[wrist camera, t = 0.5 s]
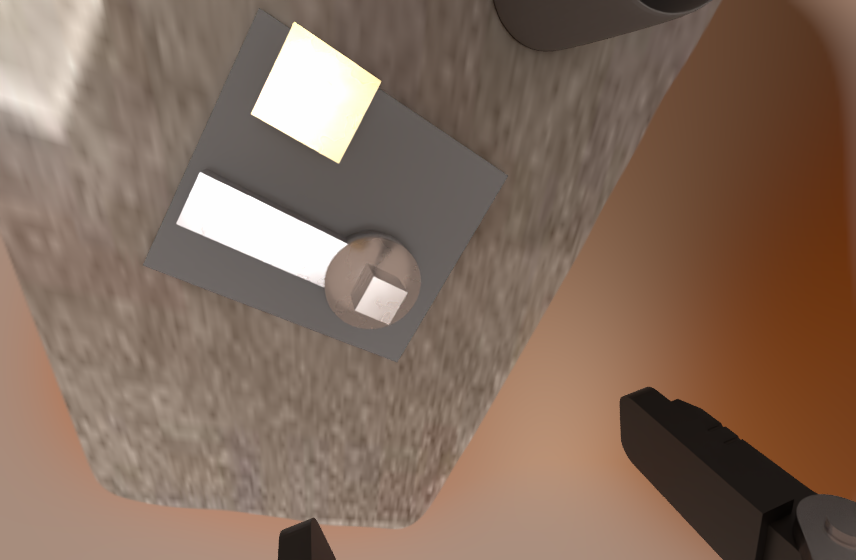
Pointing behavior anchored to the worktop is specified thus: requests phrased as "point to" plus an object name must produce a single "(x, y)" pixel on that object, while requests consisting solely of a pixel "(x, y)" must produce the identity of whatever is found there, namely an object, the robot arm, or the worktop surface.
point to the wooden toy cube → (315, 94)
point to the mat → (328, 198)
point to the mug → (585, 19)
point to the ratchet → (309, 251)
